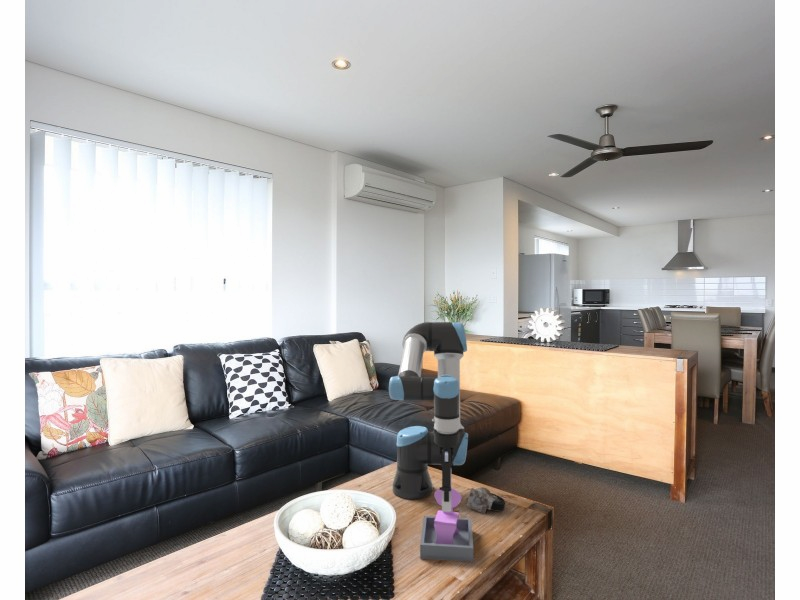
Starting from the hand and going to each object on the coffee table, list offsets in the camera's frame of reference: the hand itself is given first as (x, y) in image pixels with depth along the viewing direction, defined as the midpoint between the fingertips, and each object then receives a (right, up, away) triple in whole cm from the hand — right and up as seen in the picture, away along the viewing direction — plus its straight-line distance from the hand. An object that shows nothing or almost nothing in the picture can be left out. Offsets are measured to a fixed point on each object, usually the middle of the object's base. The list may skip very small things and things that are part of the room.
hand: (446, 499), depth 135 cm
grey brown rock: (+17, -13, +22) cm, 30 cm away
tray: (0, -14, 0) cm, 14 cm away
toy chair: (0, -13, 0) cm, 13 cm away
